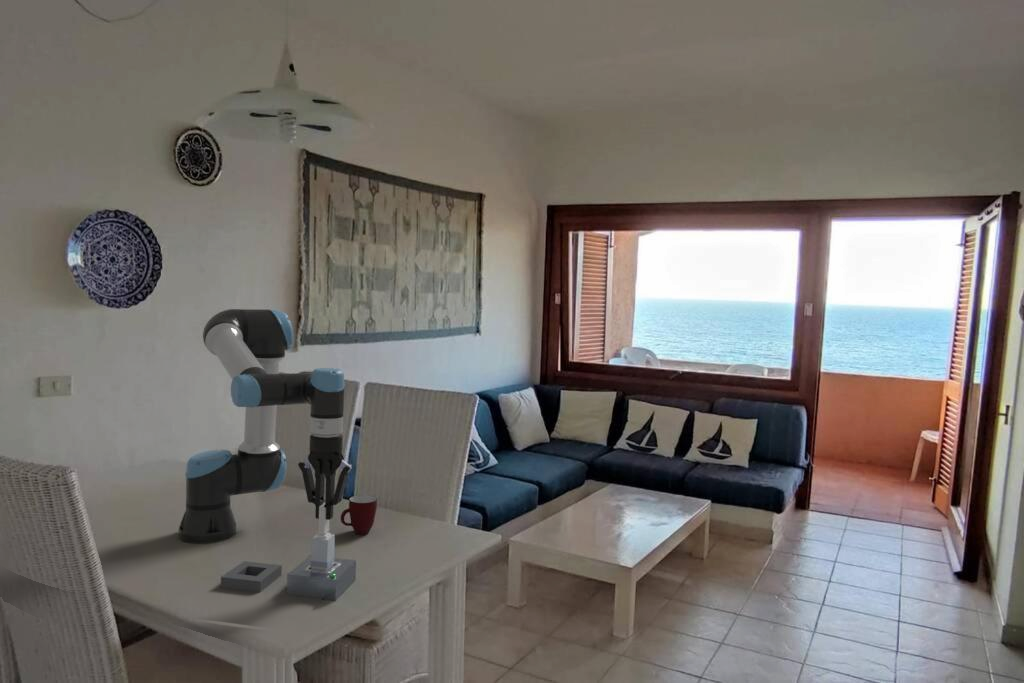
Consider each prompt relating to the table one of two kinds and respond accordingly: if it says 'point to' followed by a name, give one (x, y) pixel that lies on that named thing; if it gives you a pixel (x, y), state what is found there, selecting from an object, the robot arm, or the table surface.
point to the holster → (251, 576)
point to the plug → (323, 552)
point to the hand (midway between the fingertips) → (323, 532)
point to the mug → (361, 513)
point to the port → (322, 579)
